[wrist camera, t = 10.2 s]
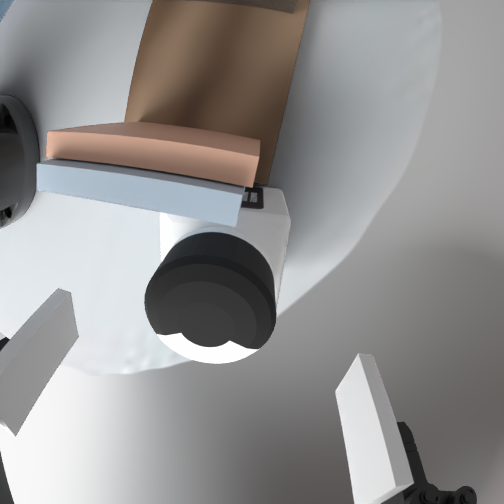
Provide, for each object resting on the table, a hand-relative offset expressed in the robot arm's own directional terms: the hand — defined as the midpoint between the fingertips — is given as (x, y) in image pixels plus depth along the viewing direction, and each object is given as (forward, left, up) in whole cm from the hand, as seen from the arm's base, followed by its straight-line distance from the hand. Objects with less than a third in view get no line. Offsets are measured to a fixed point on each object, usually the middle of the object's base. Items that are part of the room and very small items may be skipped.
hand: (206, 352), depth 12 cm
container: (0, 0, -15) cm, 15 cm away
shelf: (-4, +15, -14) cm, 21 cm away
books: (-4, +7, -13) cm, 15 cm away
